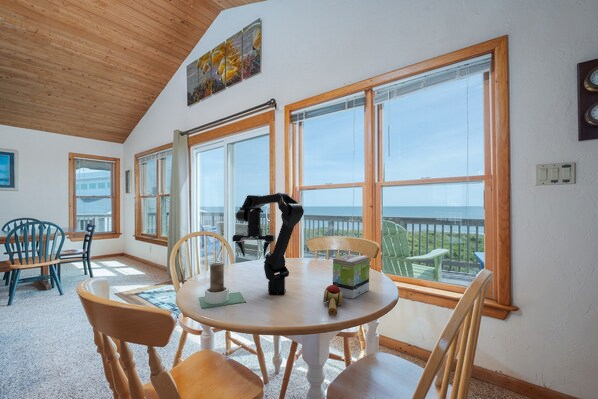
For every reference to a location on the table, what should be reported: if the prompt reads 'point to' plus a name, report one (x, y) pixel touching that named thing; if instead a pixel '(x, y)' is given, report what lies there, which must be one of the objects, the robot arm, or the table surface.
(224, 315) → the table surface
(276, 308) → the table surface
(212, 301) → the putting mat
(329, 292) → the kendama
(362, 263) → the tea box
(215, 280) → the walnut peg
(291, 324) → the table surface
